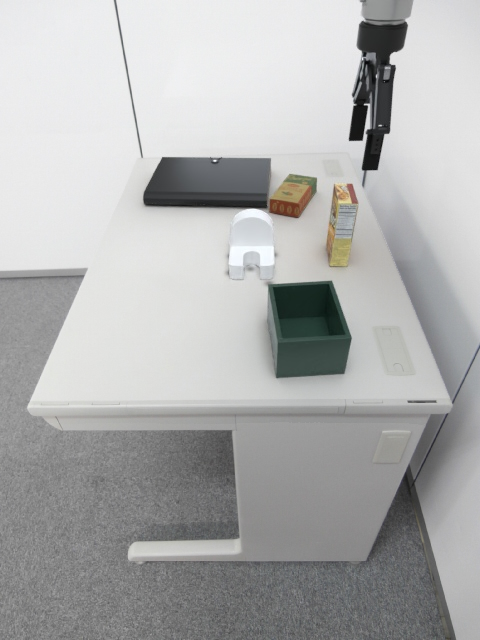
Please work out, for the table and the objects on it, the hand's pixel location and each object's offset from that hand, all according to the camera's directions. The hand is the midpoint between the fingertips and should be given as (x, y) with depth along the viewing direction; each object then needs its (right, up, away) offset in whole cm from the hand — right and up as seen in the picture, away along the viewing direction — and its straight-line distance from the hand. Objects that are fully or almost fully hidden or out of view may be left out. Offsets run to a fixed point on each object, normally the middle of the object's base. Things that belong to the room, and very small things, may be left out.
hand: (362, 154), depth 83 cm
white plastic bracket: (-20, -17, +17) cm, 32 cm away
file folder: (-31, +6, +43) cm, 53 cm away
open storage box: (-12, -36, -4) cm, 38 cm away
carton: (-9, 0, +35) cm, 36 cm away
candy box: (-1, -17, +16) cm, 23 cm away
